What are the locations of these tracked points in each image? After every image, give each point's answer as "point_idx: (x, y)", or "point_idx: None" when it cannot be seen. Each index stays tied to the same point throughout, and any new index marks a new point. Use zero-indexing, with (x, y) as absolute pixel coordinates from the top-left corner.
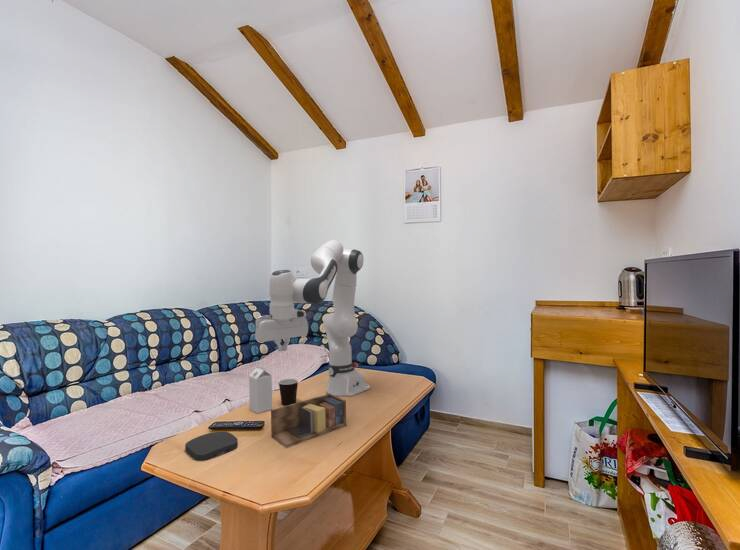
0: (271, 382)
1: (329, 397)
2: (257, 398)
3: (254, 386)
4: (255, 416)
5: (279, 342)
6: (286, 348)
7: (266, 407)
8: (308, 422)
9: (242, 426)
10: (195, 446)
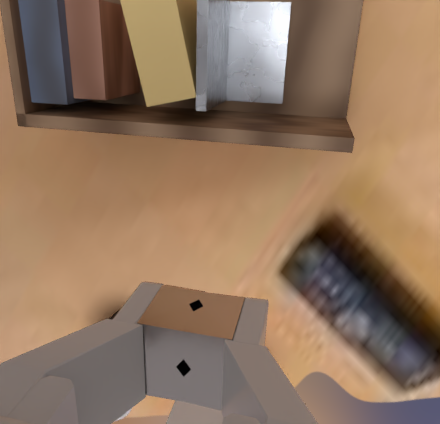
0: (172, 410)
1: (34, 112)
2: None
3: None
4: (279, 326)
5: (271, 418)
6: (150, 293)
7: None
8: (221, 18)
9: (361, 290)
10: None
